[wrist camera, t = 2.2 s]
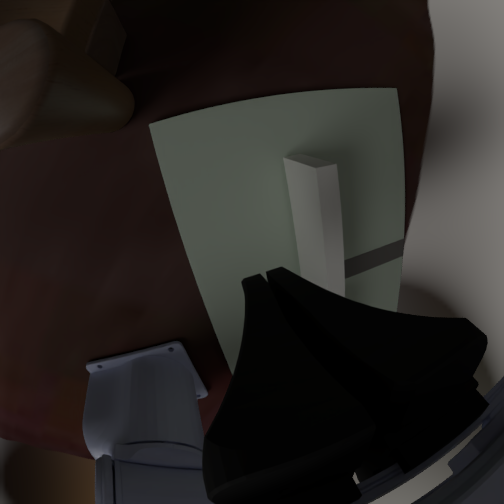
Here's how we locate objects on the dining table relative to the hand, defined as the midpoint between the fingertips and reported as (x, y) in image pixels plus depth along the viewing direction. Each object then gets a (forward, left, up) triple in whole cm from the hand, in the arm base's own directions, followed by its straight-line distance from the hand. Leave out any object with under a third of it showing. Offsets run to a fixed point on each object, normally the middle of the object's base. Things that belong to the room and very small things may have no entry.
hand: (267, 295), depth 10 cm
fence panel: (+5, -2, -9) cm, 10 cm away
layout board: (+6, -4, -10) cm, 12 cm away
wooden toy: (-10, +13, -10) cm, 19 cm away
